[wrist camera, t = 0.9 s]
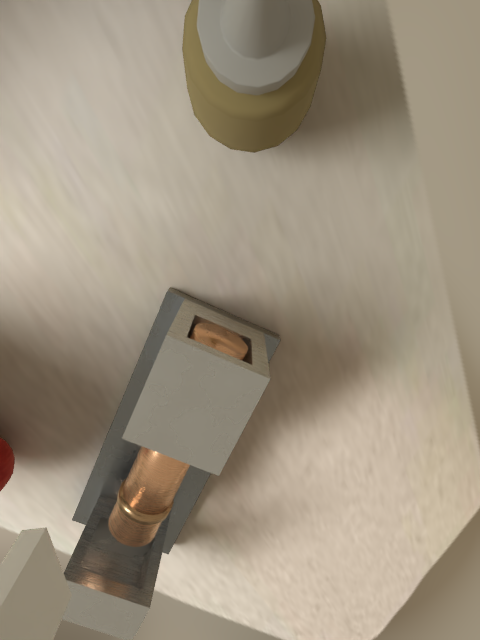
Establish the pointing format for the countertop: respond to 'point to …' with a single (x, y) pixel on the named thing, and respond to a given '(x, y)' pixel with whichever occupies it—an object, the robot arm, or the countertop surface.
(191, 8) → the squeeze bottle
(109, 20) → the countertop surface
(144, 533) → the copper tube
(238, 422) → the jig
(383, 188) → the countertop surface
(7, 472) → the red round fruit
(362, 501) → the countertop surface
